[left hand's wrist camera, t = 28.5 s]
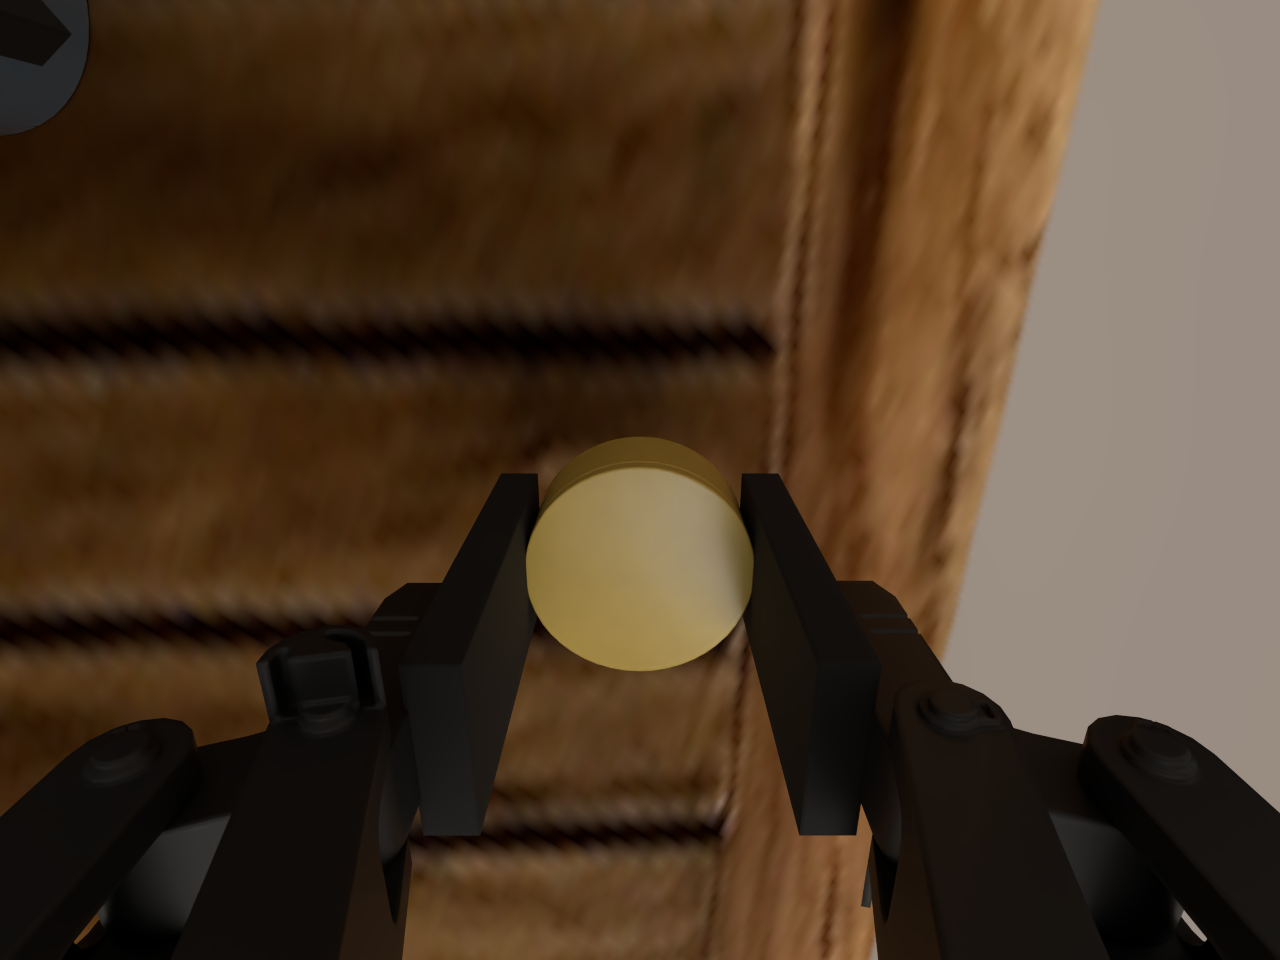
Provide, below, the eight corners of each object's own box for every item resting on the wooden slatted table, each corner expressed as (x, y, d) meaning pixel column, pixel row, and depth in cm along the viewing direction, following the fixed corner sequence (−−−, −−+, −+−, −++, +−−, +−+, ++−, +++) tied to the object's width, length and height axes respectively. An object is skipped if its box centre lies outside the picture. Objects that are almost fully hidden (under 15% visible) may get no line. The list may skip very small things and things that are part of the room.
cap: (769, 466, 14) (788, 501, 12) (706, 639, 15) (714, 692, 14) (564, 411, 14) (553, 440, 12) (519, 595, 15) (503, 643, 13)
